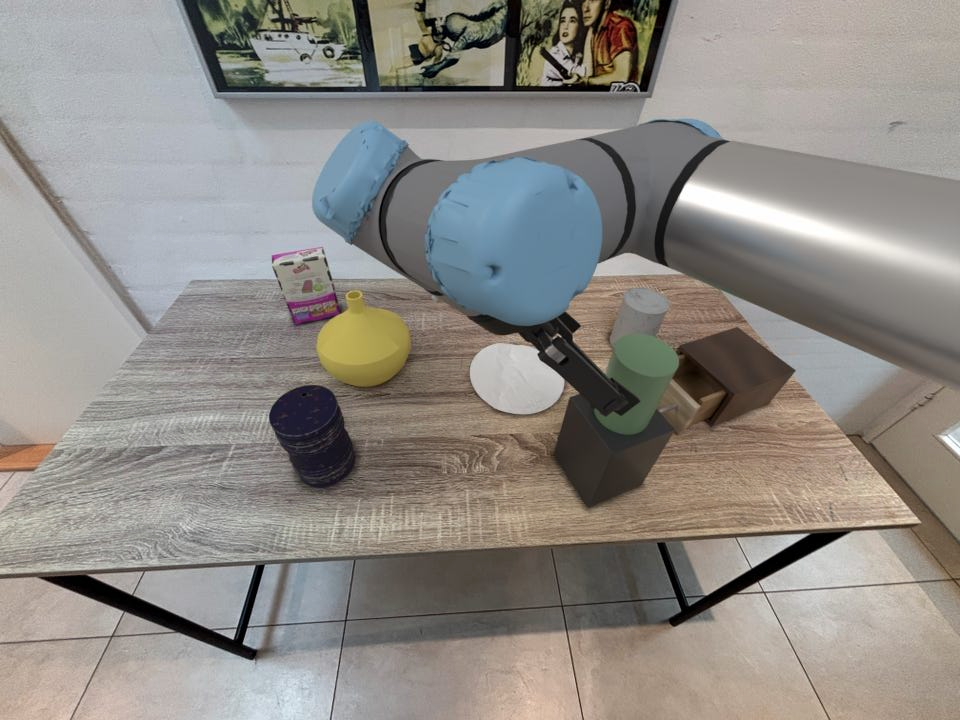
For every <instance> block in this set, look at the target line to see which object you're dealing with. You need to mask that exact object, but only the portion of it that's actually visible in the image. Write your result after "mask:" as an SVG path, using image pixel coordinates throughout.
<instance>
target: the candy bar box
mask: <svg viewBox="0 0 960 720" xmlns="http://www.w3.org/2000/svg"><path fill="white" fill-rule="evenodd" d="M271 267H272V270H273V273H274V275H275V277H276V280H277V283H278V285H279V288H280V291H281V293H282V296H283V298H284V301H285V303H286V306H287V309H288V311H289V313H290V316H291V319H292V321H293V324H294V325H295V326H297V325H304V324H308V323H312V322H313V323H314V322H317V321H322V320H327V319H332V318H334V317H335V316H337V315H339V314H341V313H342V310H341V306H340V305H341V304H340V301H339V298H338V295H337V290H336V288H335V283H334V280H333V277H332V273H331V269H330V265H329V263H328V259H327V256H326V253H325V248H324V247H323V246H319V247H318V246H317V247H312V248H306V249H300V250H295V251H288V252H282V253H278V254H272V255H271Z"/></svg>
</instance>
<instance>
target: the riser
mask: <svg viewBox="0 0 960 720" xmlns="http://www.w3.org/2000/svg"><path fill="white" fill-rule="evenodd" d="M566 404H567V405H566V407H565V408H566V409H565V411H564V416H563V419H562V423H561V426H560V430H559V433H558V437H557V441H556V443H555V444H556V445H555V448H554V451H553V456H554V459H556V461H557V463H558V464H559V466H560V467H561V469H562V470H563V472H564V474H565V475H566V476H567V478H568V480H569V482H570V483H571V485H573V487H574V489H575V491H576V492H577V494H578V495H579V497H580V498H581V501H583V503H584V505H585V507H586V508H587V509H590V508H592V507H594V506H595V507H596V506H597V505H599V504H602V503H604V502H606V501H608V500H611V499H613V498H615V497H618V496H619V495H622V494H625V493H626V492H629V491H631V490H633V489H636V488H638V487H640V486H642V485H643V483H644V482H645V480H646V478H647V477H648V475H649V474H650V472H651V470H652V469H653V467H654V466H655V464H656V462H657V460H658V459H659V457H660V456H661V454H662V452H664V449H665V448H666V446H667V444H668V443H669V441H670V440H671V438H672V436H673V435H674V433H675V432H676V431H675V428H674V427H673V426H672V425H671V424H670V423H669V422H668V421H667V420H666V418H665V417H664V416H663V415H662V414H661V413H660V412H659V411H658V410H657V409H656V410H655V412H654V414H653V416H652V418H651V420H650V422H649V424H648V426H647V427H646V428H645V429H644V430H643V431H642V432H640V433H637V434H632V435H624V434H619V433H616V432H613V431H611V430H609V429H608V428H606V427H605V426H604V425H602V424H601V423H600V421H599V420H598V419H597V417H596V415H595V413H594V410H593V409H591V408H590V403H589V402H588V401H587V400H586V399H585V398H584V397H583V396H582V395H581V394H580V393H577V394H573V395H571V396H569V398H568V401H567V403H566Z"/></svg>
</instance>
